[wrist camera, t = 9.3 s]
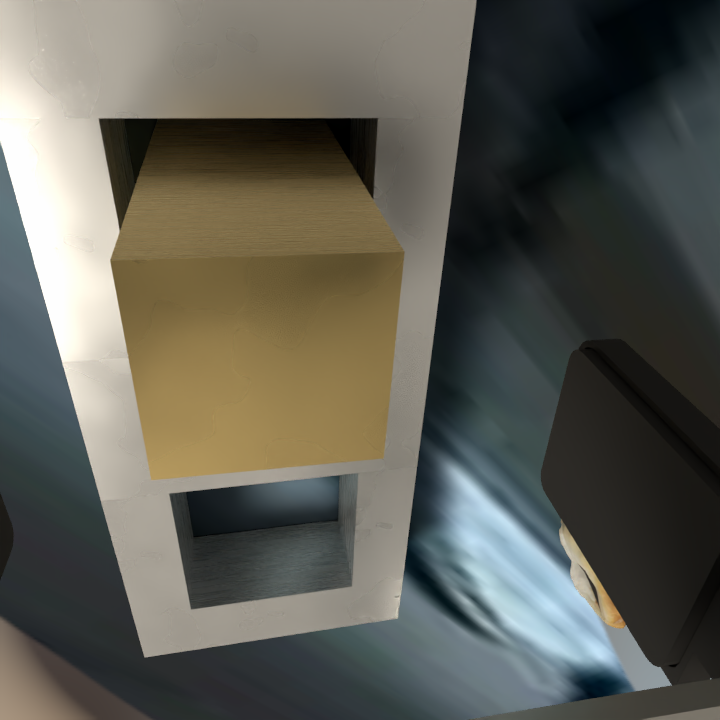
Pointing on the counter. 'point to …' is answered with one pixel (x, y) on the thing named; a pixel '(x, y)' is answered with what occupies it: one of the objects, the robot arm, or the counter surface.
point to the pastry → (589, 582)
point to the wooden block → (256, 299)
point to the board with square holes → (98, 294)
